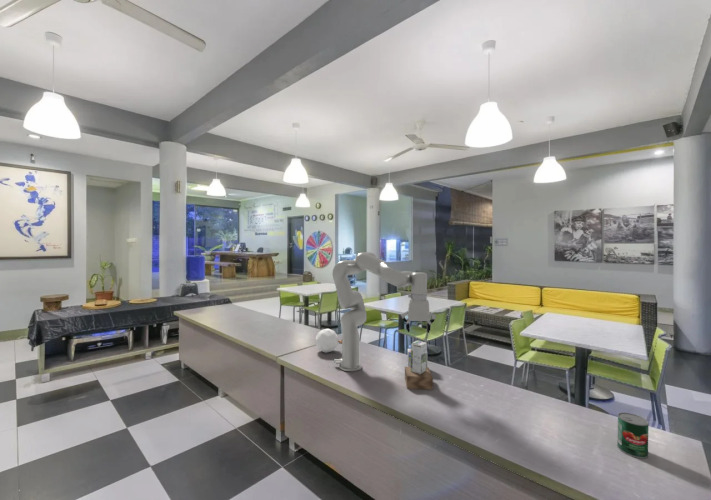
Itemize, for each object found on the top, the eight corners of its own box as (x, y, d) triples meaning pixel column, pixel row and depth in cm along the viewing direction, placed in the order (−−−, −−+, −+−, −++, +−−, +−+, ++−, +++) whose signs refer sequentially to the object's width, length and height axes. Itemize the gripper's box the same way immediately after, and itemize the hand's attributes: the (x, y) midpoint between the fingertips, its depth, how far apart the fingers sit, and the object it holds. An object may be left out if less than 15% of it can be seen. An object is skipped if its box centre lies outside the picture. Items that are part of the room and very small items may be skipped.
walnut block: (407, 388, 153) (407, 376, 153) (404, 378, 165) (404, 366, 165) (432, 389, 153) (432, 377, 153) (428, 379, 165) (428, 367, 165)
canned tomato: (633, 443, 112) (633, 412, 112) (655, 458, 104) (655, 424, 104) (611, 443, 112) (611, 412, 112) (631, 458, 104) (632, 425, 104)
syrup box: (416, 368, 163) (416, 340, 163) (426, 371, 159) (427, 342, 159) (410, 371, 159) (410, 342, 159) (421, 374, 155) (421, 345, 155)
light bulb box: (426, 367, 180) (426, 348, 180) (427, 372, 174) (427, 352, 173) (407, 366, 181) (407, 347, 181) (407, 371, 175) (407, 351, 174)
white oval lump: (314, 351, 196) (346, 354, 198) (317, 326, 200) (348, 329, 203) (313, 351, 209) (343, 354, 212) (316, 327, 214) (345, 330, 217)
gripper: (402, 298, 155) (401, 333, 156) (438, 299, 154) (437, 334, 155) (400, 295, 163) (400, 329, 163) (435, 296, 162) (434, 330, 162)
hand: (418, 331), depth 159 cm, fingers open, 9 cm apart
